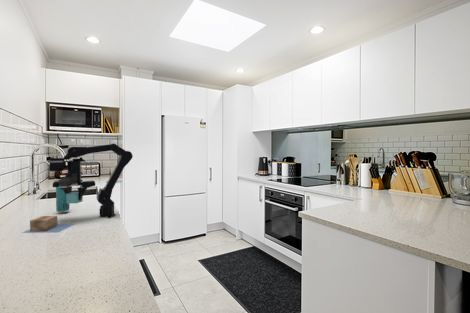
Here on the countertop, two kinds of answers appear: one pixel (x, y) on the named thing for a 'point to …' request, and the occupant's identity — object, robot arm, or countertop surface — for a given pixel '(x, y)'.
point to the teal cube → (73, 197)
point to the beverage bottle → (61, 200)
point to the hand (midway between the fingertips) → (74, 200)
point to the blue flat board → (53, 230)
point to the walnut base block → (43, 223)
